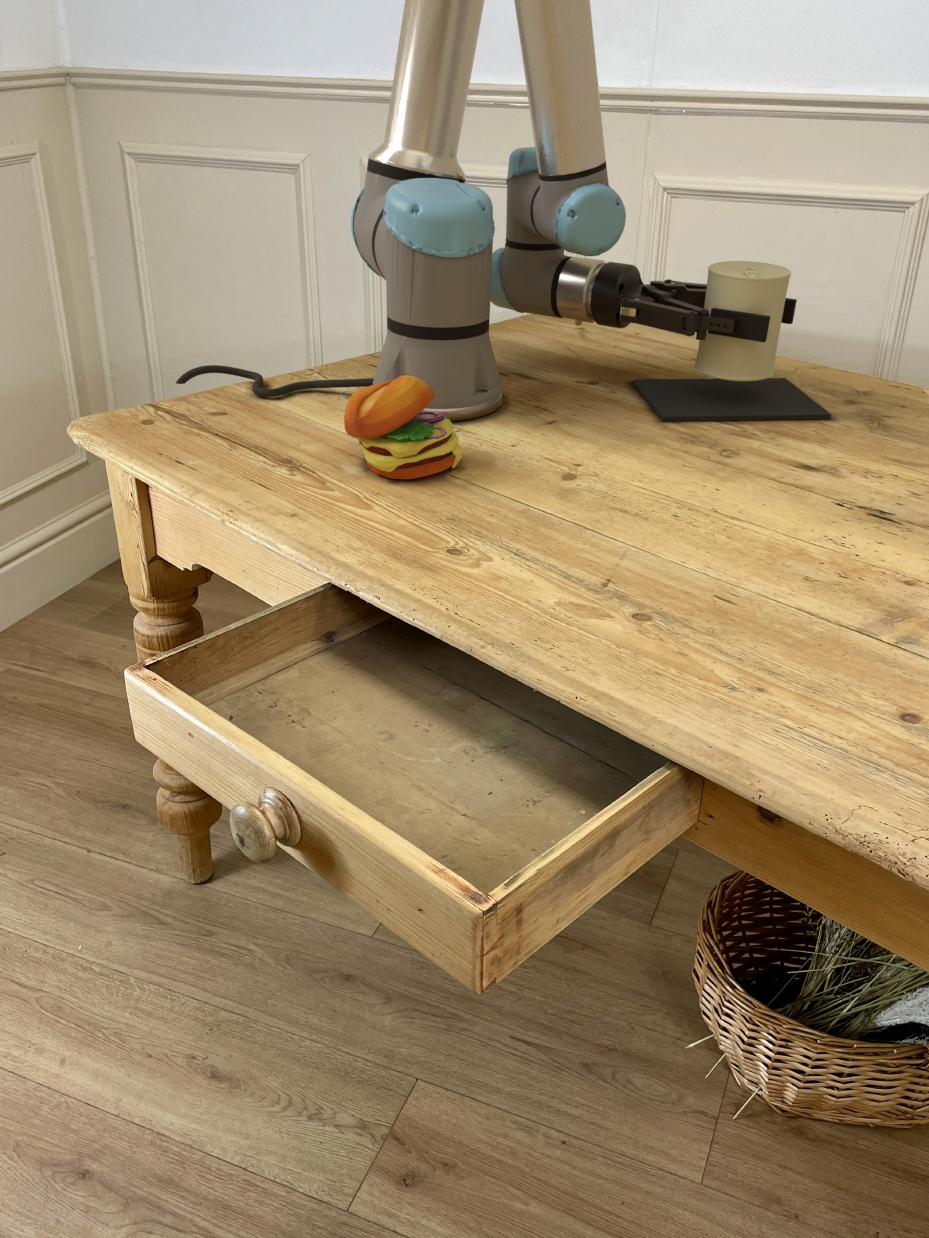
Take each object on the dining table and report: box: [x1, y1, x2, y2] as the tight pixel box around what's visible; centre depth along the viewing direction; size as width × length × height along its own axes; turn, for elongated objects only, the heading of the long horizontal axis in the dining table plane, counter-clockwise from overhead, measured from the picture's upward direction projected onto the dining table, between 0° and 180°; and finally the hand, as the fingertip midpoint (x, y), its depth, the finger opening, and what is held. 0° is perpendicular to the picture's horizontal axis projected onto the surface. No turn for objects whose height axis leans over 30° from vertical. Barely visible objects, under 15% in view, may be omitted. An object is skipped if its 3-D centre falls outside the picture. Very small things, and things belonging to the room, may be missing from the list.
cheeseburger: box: [343, 375, 463, 480], centre depth 98 cm, size 10×11×10 cm
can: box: [694, 260, 792, 381], centre depth 115 cm, size 9×9×12 cm
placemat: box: [631, 377, 832, 422], centre depth 120 cm, size 20×14×1 cm
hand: (780, 320), depth 113 cm, fingers closed on can, 9 cm apart
